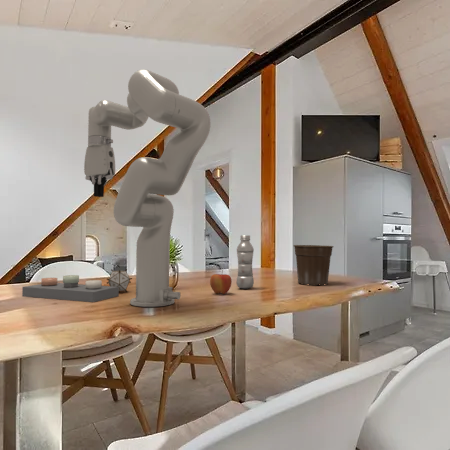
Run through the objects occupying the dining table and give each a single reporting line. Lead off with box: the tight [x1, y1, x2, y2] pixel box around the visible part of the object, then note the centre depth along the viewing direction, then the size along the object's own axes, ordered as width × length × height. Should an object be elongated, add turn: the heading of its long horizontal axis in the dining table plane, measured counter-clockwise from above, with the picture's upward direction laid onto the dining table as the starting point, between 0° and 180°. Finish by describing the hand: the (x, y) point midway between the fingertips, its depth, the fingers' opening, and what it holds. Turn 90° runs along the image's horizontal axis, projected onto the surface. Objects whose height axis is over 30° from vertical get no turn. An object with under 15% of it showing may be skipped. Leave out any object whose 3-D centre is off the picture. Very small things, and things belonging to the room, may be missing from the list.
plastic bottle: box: [236, 234, 255, 290], centre depth 138 cm, size 6×7×20 cm
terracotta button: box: [40, 277, 58, 286], centre depth 122 cm, size 5×5×5 cm
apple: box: [209, 270, 232, 295], centre depth 125 cm, size 7×7×8 cm
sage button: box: [62, 274, 80, 288], centre depth 119 cm, size 5×5×5 cm
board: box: [21, 282, 120, 303], centre depth 119 cm, size 28×12×3 cm, turn 70°
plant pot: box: [293, 244, 334, 286], centre depth 154 cm, size 16×16×16 cm
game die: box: [106, 268, 133, 293], centre depth 128 cm, size 9×8×10 cm
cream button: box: [84, 279, 103, 290], centre depth 116 cm, size 5×5×5 cm
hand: (98, 196), depth 127 cm, fingers closed
